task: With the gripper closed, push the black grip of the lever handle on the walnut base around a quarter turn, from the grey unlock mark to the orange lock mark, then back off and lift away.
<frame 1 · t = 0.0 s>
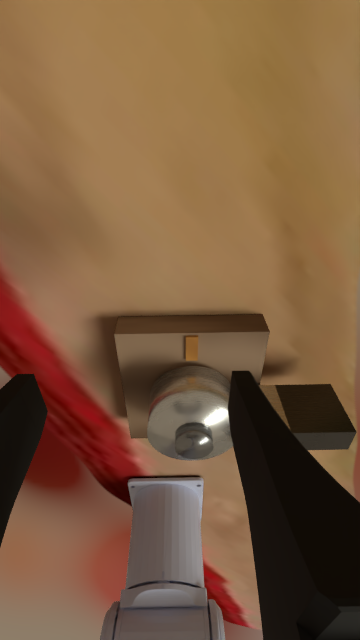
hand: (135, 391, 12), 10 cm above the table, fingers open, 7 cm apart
walnut base: (190, 372, 25), on the table
lever handle: (244, 418, 22), point 4 cm above the table, hinge at 0.0°
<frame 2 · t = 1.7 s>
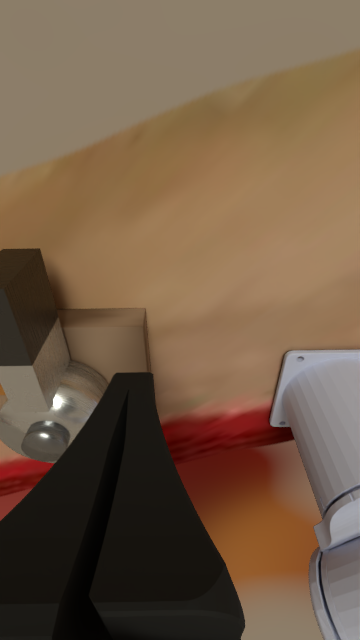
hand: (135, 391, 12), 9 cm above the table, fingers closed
walnut base: (74, 367, 23), on the table
lever handle: (40, 376, 17), point 4 cm above the table, hinge at 0.0°
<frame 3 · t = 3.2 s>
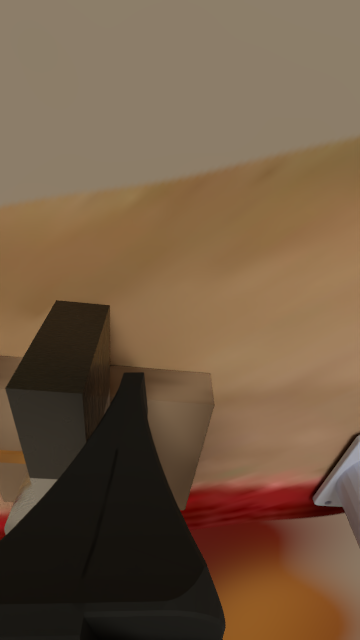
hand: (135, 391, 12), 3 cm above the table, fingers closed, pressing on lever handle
walnut base: (101, 427, 18), on the table
lever handle: (78, 467, 13), point 4 cm above the table, hinge at 0.4°, touching gripper
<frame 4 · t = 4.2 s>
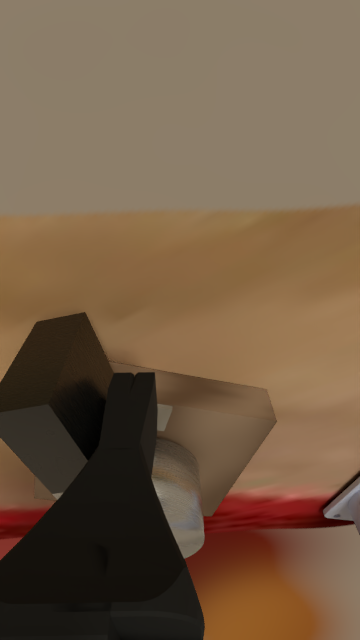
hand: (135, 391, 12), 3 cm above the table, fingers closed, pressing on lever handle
walnut base: (145, 431, 19), on the table
lever handle: (113, 474, 13), point 4 cm above the table, hinge at 27.4°, touching gripper
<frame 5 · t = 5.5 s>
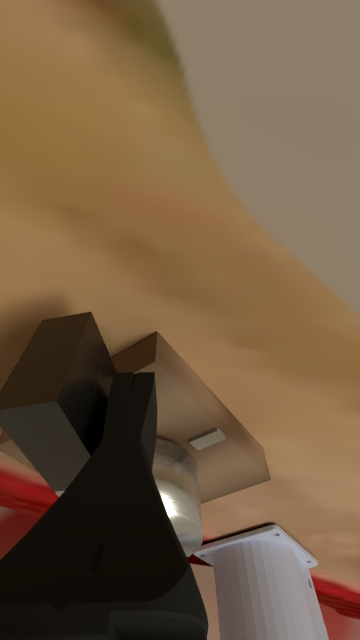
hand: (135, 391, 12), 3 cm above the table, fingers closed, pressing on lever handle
walnut base: (144, 432, 19), on the table
lever handle: (114, 474, 13), point 4 cm above the table, hinge at 67.1°, touching gripper
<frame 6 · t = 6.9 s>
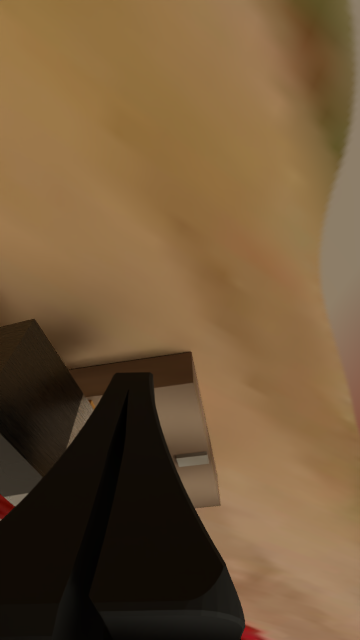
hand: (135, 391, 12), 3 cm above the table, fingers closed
walnut base: (122, 434, 19), on the table
lever handle: (77, 477, 13), point 4 cm above the table, hinge at 95.1°
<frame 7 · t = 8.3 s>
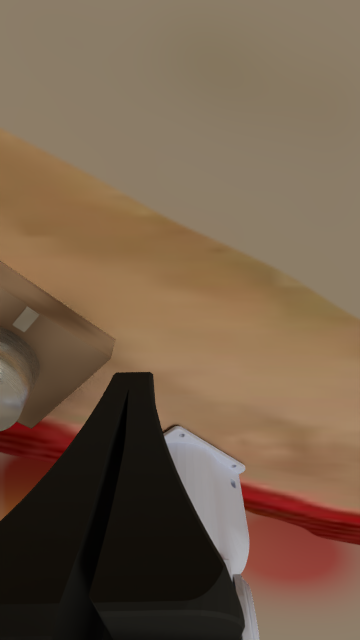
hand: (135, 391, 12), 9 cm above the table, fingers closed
walnut base: (7, 337, 22), on the table
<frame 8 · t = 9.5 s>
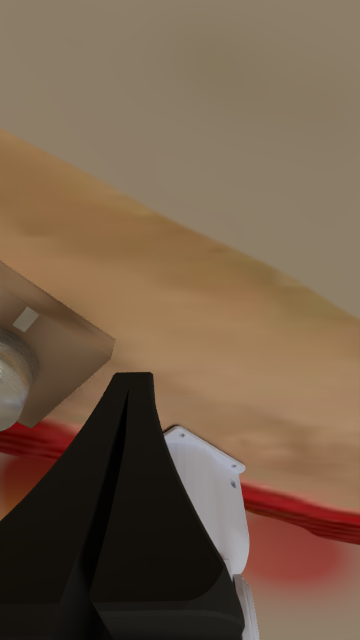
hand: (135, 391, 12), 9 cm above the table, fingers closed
walnut base: (7, 337, 22), on the table
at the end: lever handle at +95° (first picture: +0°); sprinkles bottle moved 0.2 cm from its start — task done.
